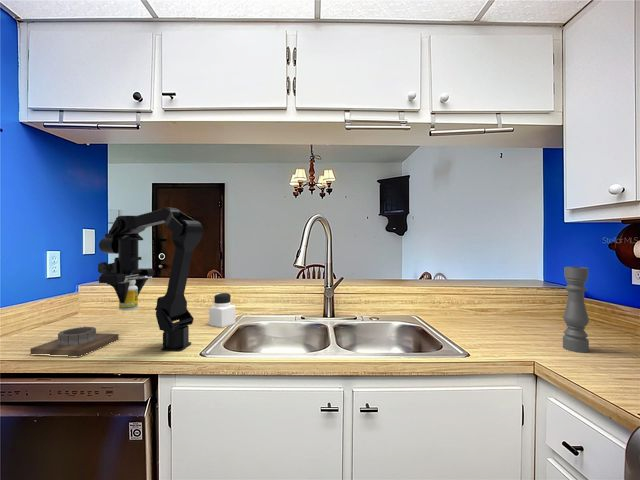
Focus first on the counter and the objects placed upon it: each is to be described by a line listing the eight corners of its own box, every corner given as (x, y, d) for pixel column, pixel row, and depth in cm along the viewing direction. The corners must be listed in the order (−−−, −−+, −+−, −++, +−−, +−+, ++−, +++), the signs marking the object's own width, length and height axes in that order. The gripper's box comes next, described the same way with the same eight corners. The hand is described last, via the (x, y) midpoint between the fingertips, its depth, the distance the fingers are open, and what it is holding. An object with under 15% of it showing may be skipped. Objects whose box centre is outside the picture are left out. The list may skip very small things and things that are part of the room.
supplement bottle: (119, 308, 105) (119, 279, 105) (138, 306, 108) (138, 278, 108) (118, 311, 101) (118, 281, 100) (137, 309, 103) (137, 280, 103)
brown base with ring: (118, 340, 103) (118, 324, 103) (79, 357, 88) (79, 339, 88) (75, 338, 105) (75, 323, 105) (30, 355, 90) (30, 338, 90)
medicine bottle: (235, 323, 124) (235, 293, 124) (221, 328, 118) (221, 296, 117) (223, 321, 127) (223, 291, 127) (208, 325, 121) (208, 294, 121)
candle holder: (563, 344, 101) (563, 266, 101) (588, 348, 97) (589, 267, 97) (562, 349, 96) (563, 267, 96) (589, 354, 92) (589, 268, 92)
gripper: (126, 252, 114) (126, 295, 114) (82, 255, 96) (82, 306, 96) (154, 252, 113) (154, 296, 113) (116, 255, 94) (116, 307, 95)
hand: (128, 301), depth 104 cm, fingers closed on supplement bottle, 5 cm apart
